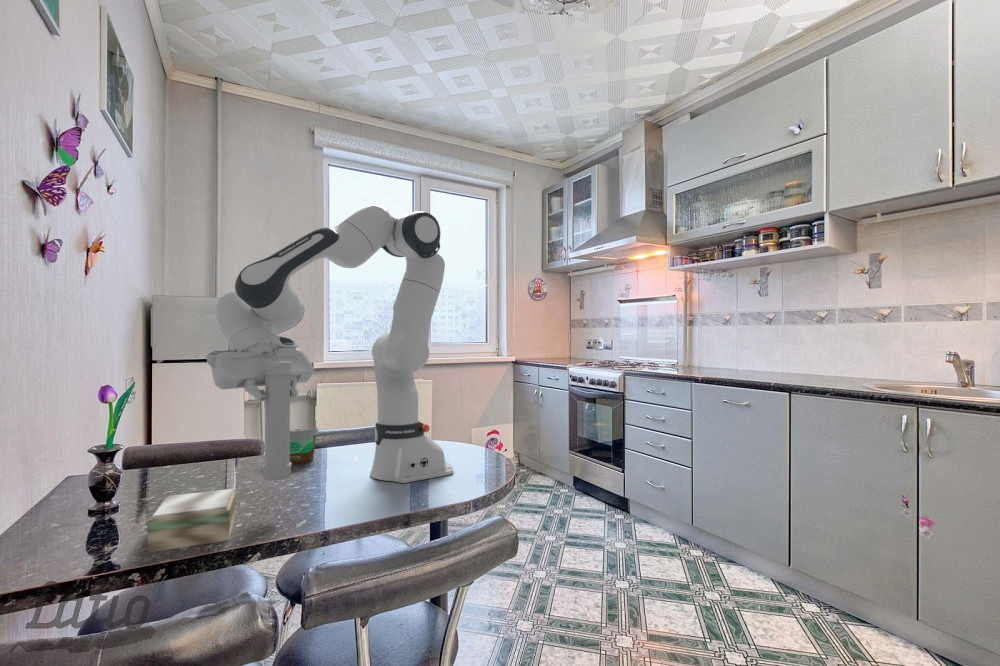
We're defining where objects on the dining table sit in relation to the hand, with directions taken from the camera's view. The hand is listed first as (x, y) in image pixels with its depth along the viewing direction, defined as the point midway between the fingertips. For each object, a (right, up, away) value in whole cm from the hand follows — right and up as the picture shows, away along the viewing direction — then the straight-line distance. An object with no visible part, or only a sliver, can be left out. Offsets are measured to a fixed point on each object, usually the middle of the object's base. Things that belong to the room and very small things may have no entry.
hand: (278, 397), depth 96 cm
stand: (-11, -24, -10) cm, 28 cm away
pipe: (-1, -17, 0) cm, 17 cm away
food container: (-14, -25, +39) cm, 49 cm away
